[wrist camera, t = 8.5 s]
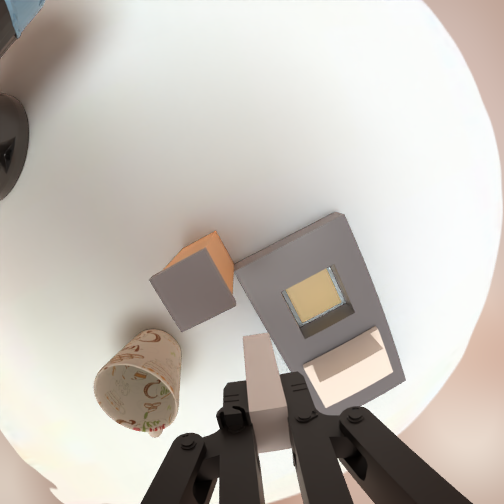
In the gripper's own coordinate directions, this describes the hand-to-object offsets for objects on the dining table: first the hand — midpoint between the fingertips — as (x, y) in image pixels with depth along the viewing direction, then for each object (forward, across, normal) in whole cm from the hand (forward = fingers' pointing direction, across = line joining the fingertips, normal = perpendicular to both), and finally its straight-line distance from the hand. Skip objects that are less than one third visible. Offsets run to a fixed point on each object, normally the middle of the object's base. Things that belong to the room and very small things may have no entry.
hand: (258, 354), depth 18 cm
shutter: (+12, +10, -12) cm, 20 cm away
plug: (+16, -4, +3) cm, 17 cm away
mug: (+16, -12, -10) cm, 22 cm away
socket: (+16, +8, -7) cm, 19 cm away
